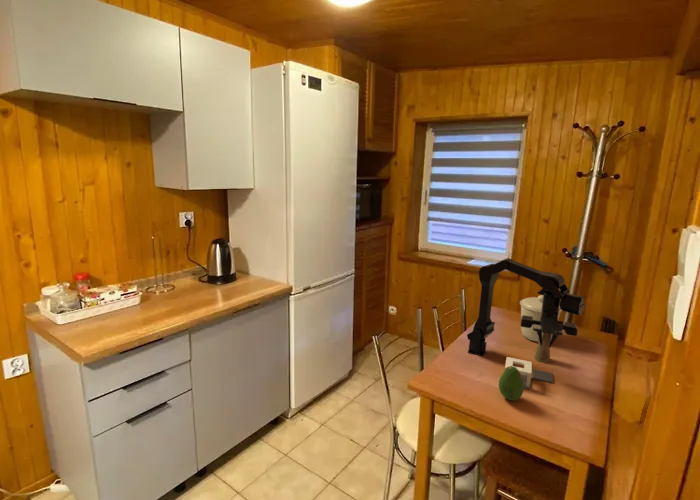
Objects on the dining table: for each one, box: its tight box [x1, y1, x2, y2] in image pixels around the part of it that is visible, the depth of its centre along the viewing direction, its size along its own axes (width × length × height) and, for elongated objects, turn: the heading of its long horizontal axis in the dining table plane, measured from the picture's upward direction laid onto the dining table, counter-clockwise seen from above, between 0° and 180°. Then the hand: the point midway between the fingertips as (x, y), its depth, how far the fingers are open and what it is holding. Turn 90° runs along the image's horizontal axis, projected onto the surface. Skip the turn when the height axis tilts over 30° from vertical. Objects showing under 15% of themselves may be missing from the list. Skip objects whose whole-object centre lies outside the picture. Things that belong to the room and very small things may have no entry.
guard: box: [504, 356, 533, 390], centre depth 148 cm, size 9×9×6 cm
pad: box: [532, 368, 554, 384], centre depth 151 cm, size 7×7×1 cm
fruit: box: [498, 365, 525, 401], centre depth 136 cm, size 8×8×12 cm
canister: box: [519, 294, 563, 343], centre depth 182 cm, size 18×18×21 cm
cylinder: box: [540, 333, 551, 360], centre depth 147 cm, size 3×3×11 cm
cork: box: [533, 334, 551, 364], centre depth 163 cm, size 6×6×11 cm
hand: (545, 346), depth 148 cm, fingers closed on cylinder, 3 cm apart
